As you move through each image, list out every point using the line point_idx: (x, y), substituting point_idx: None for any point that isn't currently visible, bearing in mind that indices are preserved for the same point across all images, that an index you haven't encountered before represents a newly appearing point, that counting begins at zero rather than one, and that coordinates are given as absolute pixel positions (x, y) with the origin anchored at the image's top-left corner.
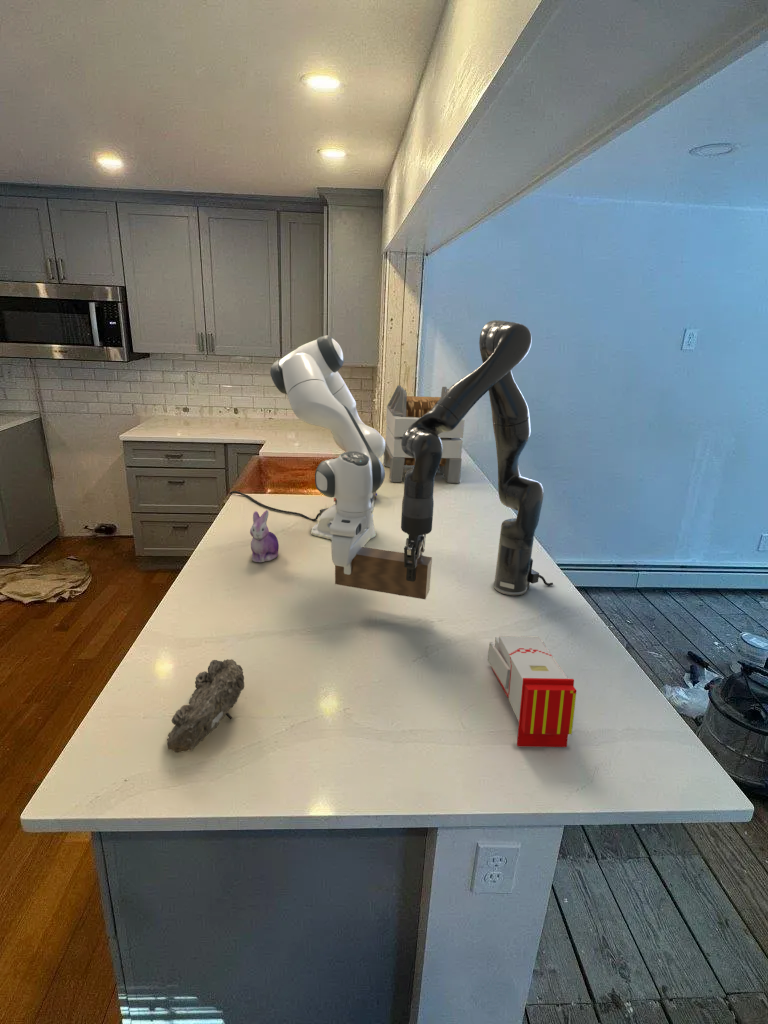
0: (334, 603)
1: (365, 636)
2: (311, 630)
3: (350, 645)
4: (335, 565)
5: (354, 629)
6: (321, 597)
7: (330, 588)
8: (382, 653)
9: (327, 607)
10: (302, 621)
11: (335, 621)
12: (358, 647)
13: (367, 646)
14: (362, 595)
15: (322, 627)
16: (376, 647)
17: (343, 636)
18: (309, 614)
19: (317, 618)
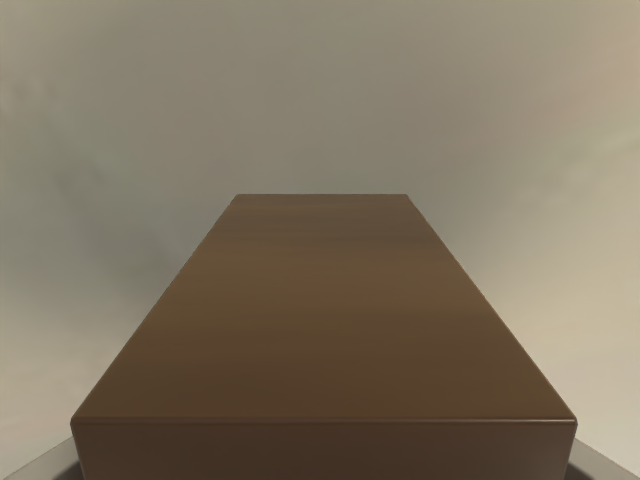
0: (331, 128)
1: (103, 363)
2: (8, 116)
3: (5, 330)
4: (184, 268)
5: (131, 307)
6: (377, 17)
7: (513, 28)
8: (29, 445)
9: (272, 105)
10: (60, 23)
11: (153, 202)
12: (12, 362)
13: (39, 389)
14: (468, 244)
15: (66, 160)
16: (53, 418)
17: (51, 282)
18: (151, 31)
19: (134, 97)
